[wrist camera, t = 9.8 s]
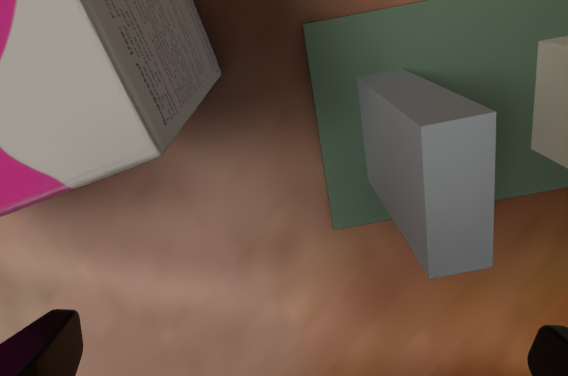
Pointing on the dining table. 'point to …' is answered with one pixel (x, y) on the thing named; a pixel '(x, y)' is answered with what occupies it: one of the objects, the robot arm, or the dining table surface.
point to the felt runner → (442, 71)
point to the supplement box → (94, 89)
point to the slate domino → (431, 168)
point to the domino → (551, 101)
